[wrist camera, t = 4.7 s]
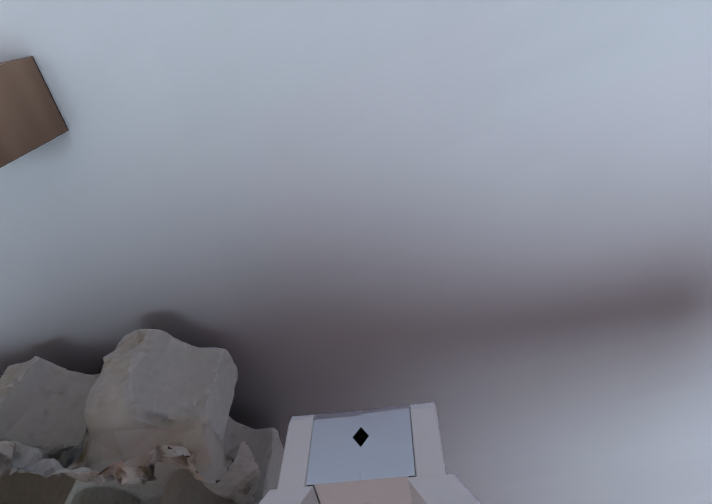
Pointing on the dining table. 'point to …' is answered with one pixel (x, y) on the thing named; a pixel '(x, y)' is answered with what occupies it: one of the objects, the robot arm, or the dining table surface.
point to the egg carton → (132, 430)
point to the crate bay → (25, 110)
